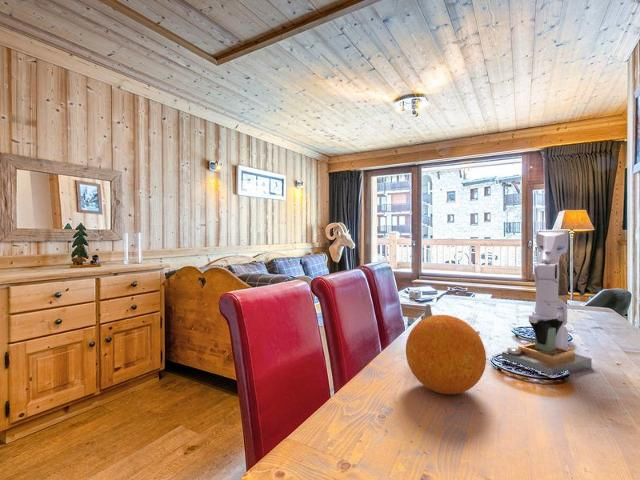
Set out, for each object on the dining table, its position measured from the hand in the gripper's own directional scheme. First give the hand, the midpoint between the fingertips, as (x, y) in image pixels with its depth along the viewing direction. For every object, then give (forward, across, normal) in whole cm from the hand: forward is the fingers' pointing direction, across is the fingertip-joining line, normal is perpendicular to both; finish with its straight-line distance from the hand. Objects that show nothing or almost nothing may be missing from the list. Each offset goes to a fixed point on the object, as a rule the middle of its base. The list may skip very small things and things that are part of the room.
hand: (545, 342), depth 109 cm
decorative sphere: (+7, +44, 0) cm, 45 cm away
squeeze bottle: (+7, +30, -21) cm, 37 cm away
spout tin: (+2, 0, 0) cm, 2 cm away
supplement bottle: (+7, +13, -17) cm, 23 cm away
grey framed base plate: (+7, 0, 0) cm, 7 cm away
